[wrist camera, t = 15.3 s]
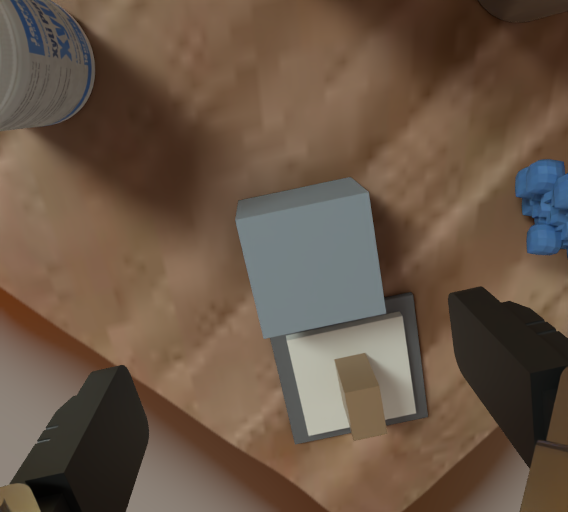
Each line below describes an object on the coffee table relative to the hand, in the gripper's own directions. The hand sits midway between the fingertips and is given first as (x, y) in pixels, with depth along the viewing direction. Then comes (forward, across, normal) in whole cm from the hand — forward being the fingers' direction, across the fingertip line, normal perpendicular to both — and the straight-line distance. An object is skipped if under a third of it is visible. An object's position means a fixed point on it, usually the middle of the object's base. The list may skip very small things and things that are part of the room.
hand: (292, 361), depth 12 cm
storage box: (+31, -2, +7) cm, 32 cm away
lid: (+30, -3, +21) cm, 37 cm away
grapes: (+32, -22, +8) cm, 39 cm away
